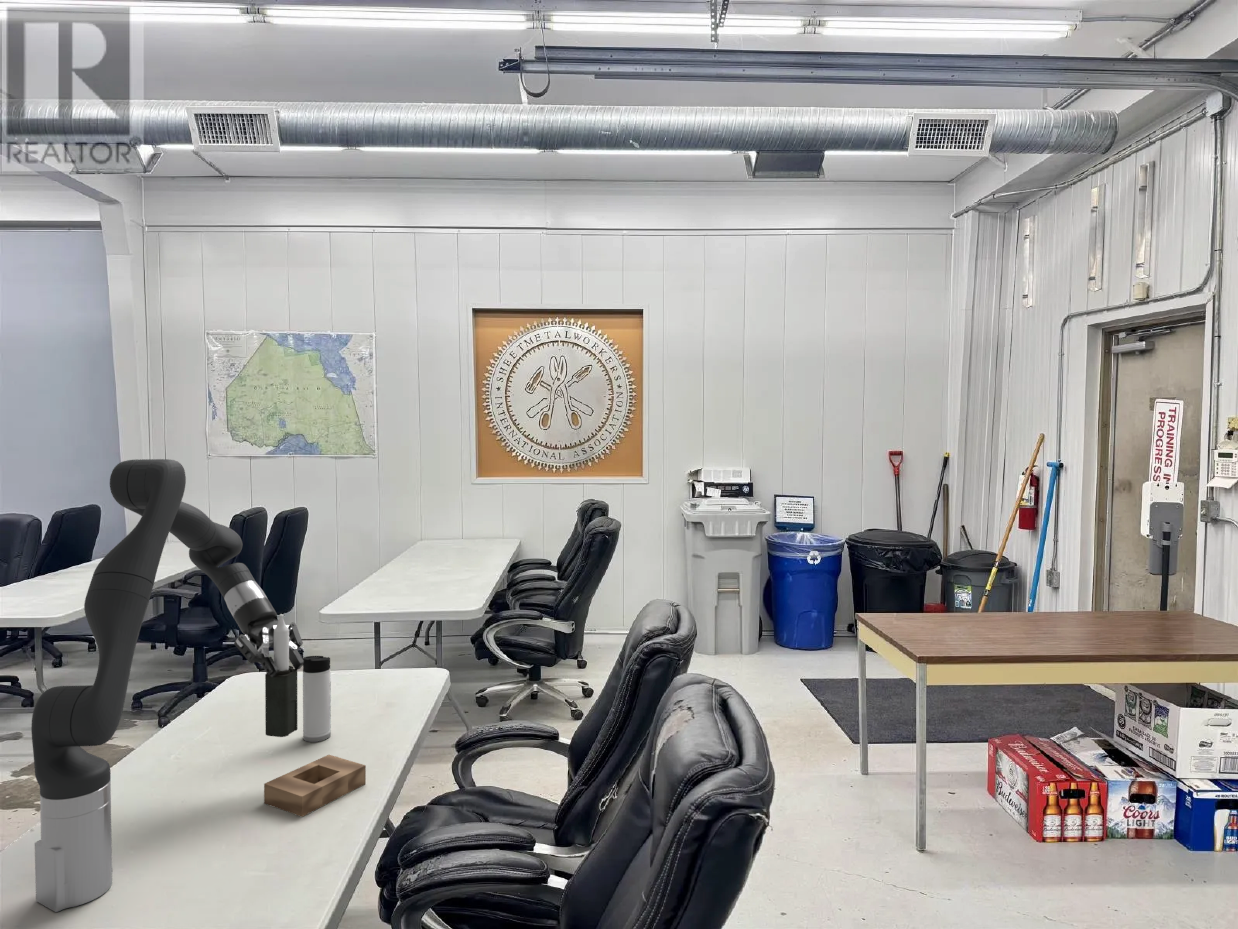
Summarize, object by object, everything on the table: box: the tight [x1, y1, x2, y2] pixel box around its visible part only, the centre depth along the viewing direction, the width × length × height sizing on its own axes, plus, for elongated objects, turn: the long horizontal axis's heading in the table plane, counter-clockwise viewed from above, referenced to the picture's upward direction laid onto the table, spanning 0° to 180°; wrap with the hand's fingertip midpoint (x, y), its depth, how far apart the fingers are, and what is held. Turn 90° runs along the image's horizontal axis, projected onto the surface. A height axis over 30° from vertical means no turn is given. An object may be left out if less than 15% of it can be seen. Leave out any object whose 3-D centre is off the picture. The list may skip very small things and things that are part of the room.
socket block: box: [263, 754, 367, 818], centre depth 158 cm, size 16×11×4 cm
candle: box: [264, 613, 298, 738], centre depth 161 cm, size 5×5×25 cm
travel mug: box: [302, 655, 332, 743], centre depth 186 cm, size 6×7×20 cm
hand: (287, 670), depth 161 cm, fingers closed on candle, 5 cm apart
